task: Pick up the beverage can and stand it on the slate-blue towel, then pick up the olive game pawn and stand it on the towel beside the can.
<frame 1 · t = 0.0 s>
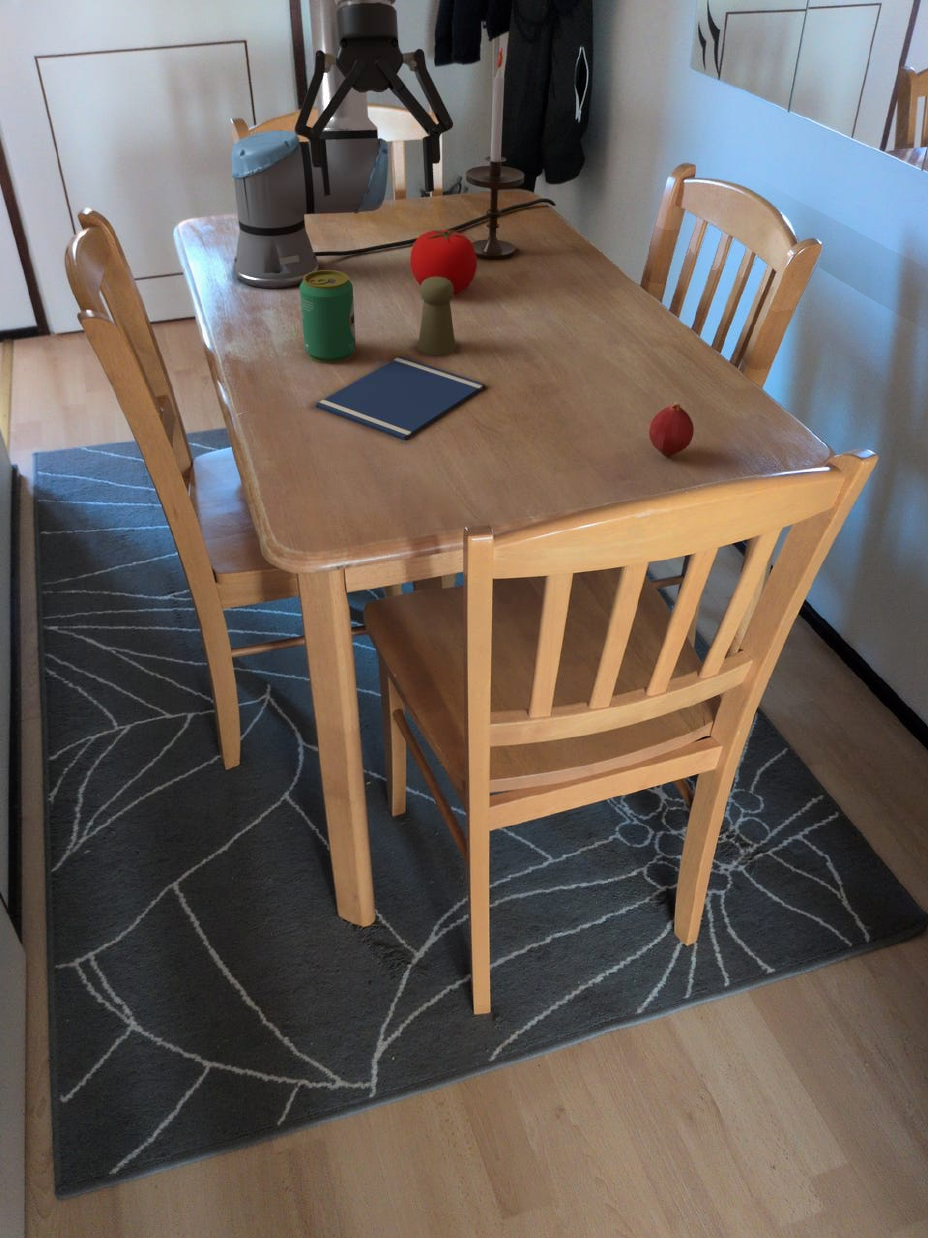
hand: (378, 193, 130), 28 cm above the table, tool tilted 20°, fingers open, 13 cm apart
towel: (402, 396, 146), on the table
tomato: (443, 291, 178), on the table
onion: (666, 456, 135), on the table
olive game pawn: (436, 348, 160), on the table
candlestick: (491, 252, 194), on the table
beverage can: (330, 354, 157), on the table
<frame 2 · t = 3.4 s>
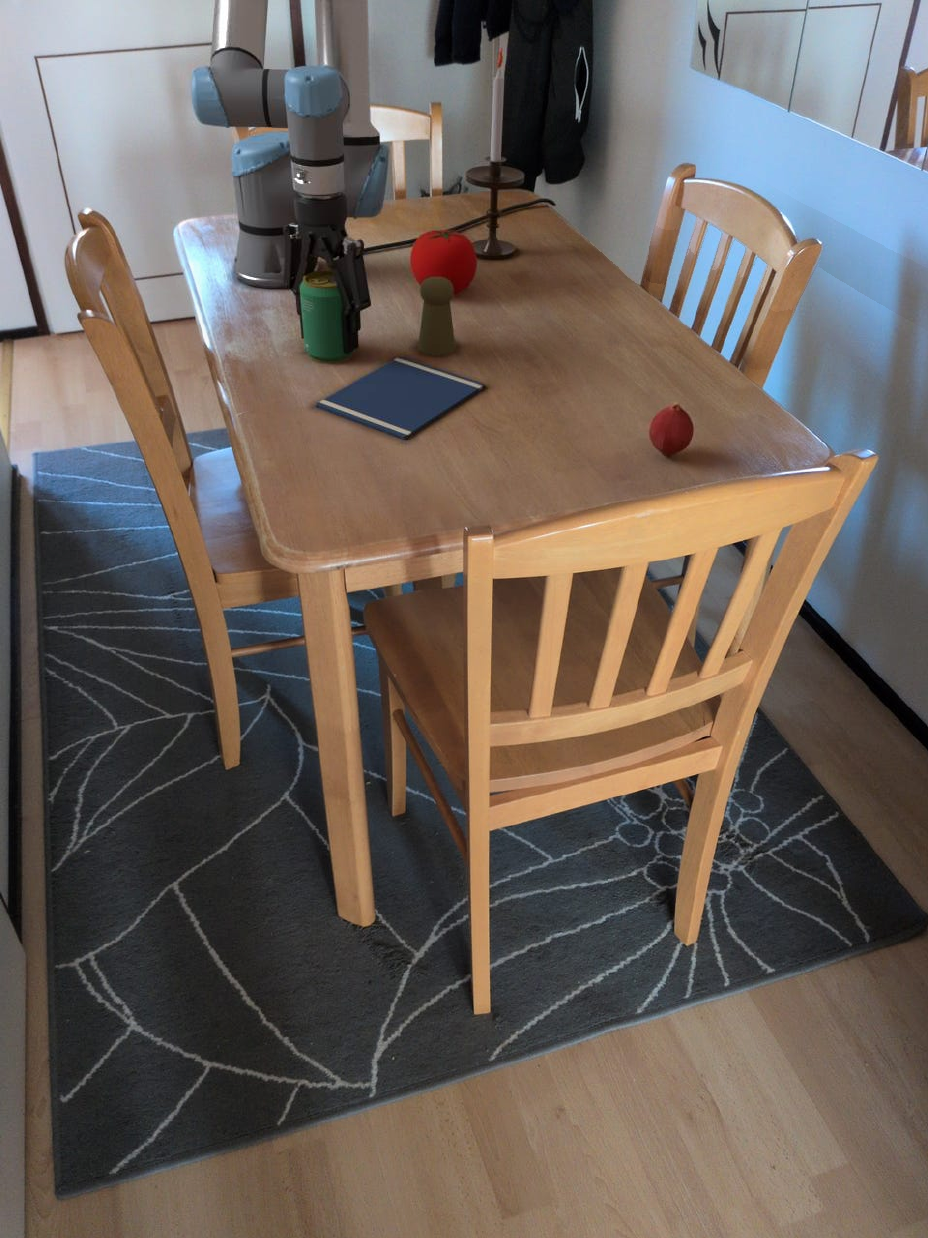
hand: (329, 342, 156), 2 cm above the table, tool pointing down, fingers closed on beverage can, 8 cm apart
beverage can: (330, 354, 157), on the table, touching gripper
everything else where it was.
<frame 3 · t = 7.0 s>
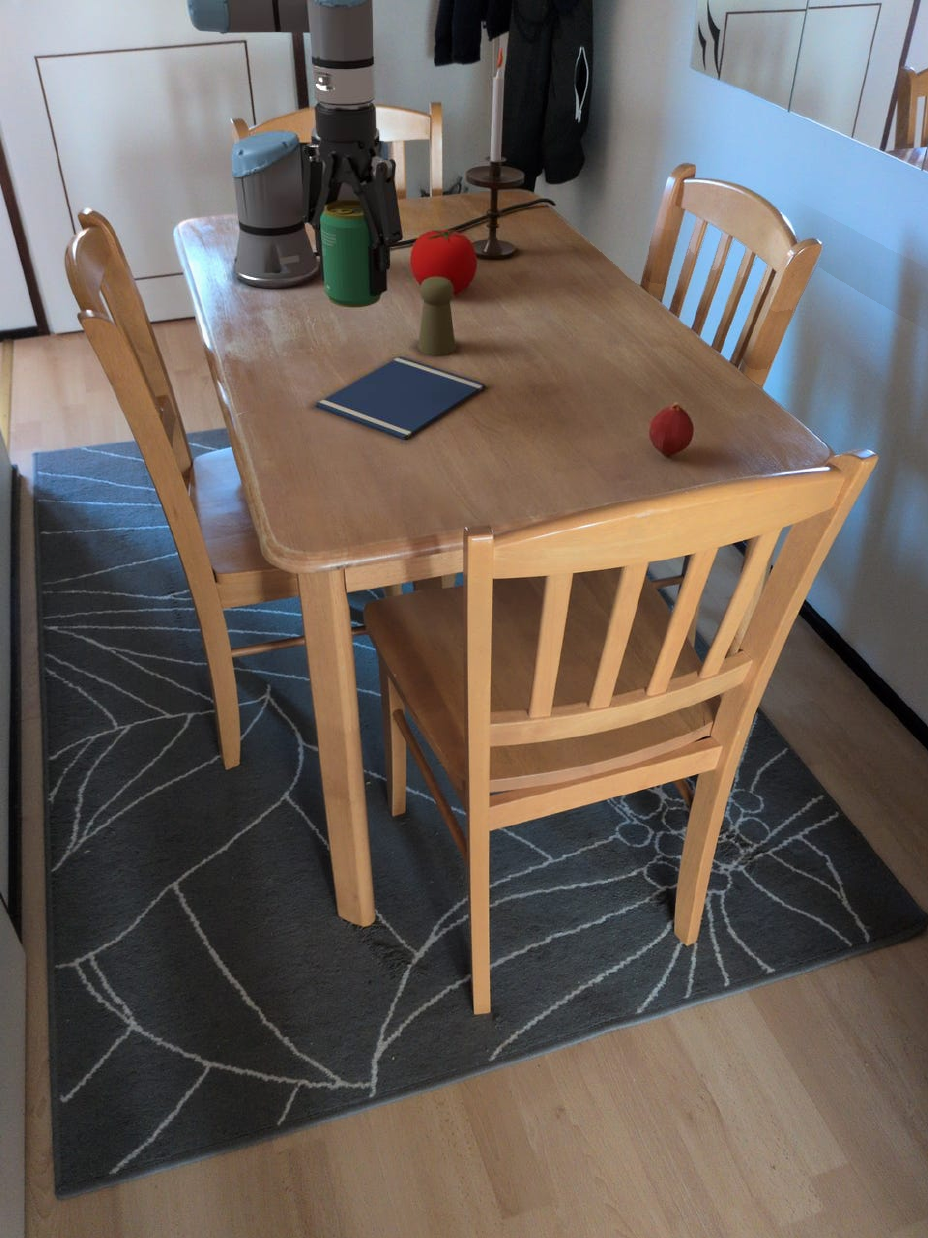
hand: (353, 285, 136), 16 cm above the table, tool pointing down, fingers closed on beverage can, 8 cm apart
beverage can: (354, 298, 138), point 14 cm above the table, touching gripper
everything else where it was.
when the fingers open (2 cm above the table, at t = 10.6 s): beverage can stays where it is, resting on towel.
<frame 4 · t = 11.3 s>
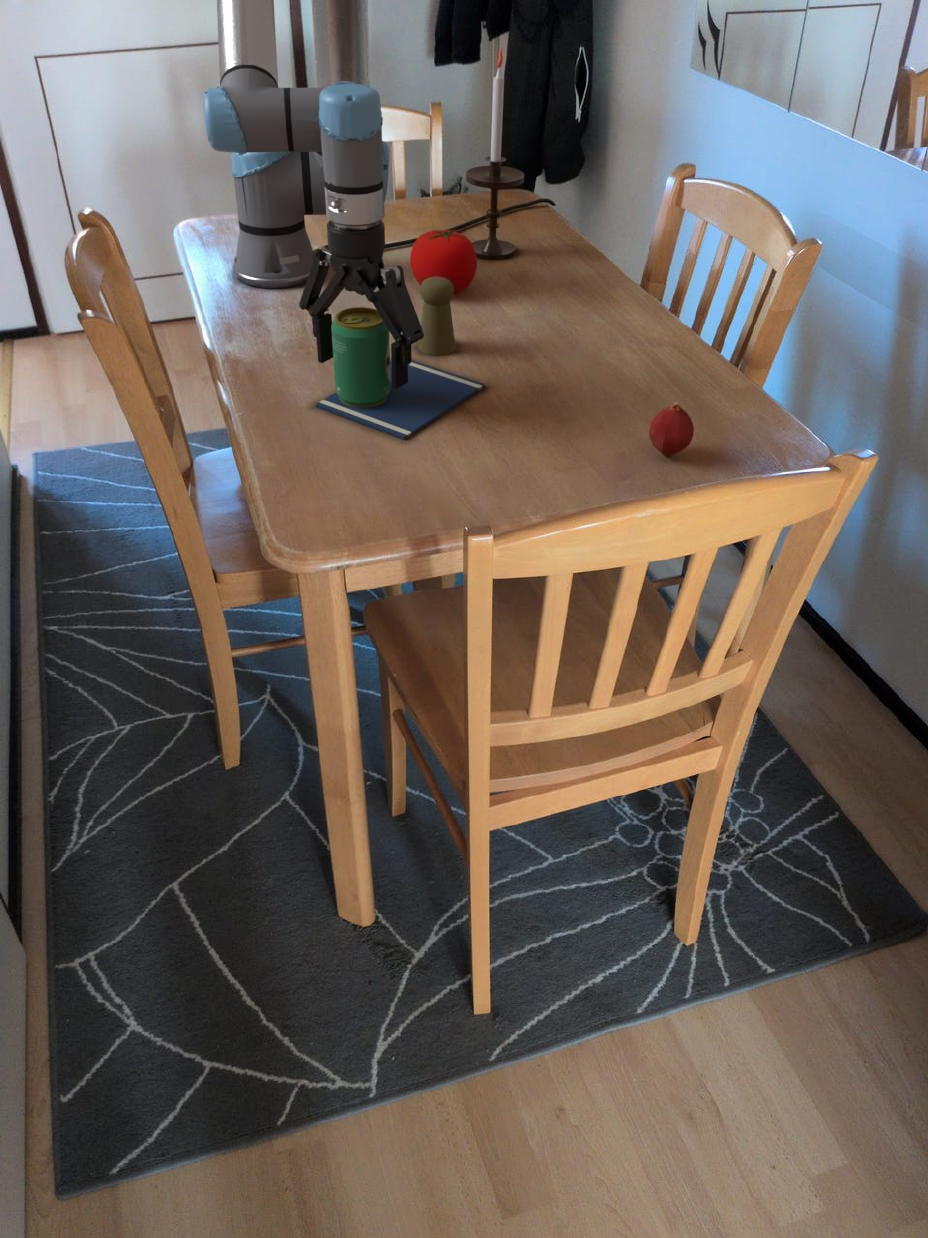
hand: (362, 372, 143), 4 cm above the table, tool pointing down, fingers open, 13 cm apart
beverage can: (363, 397, 145), resting on towel
everything else where it was.
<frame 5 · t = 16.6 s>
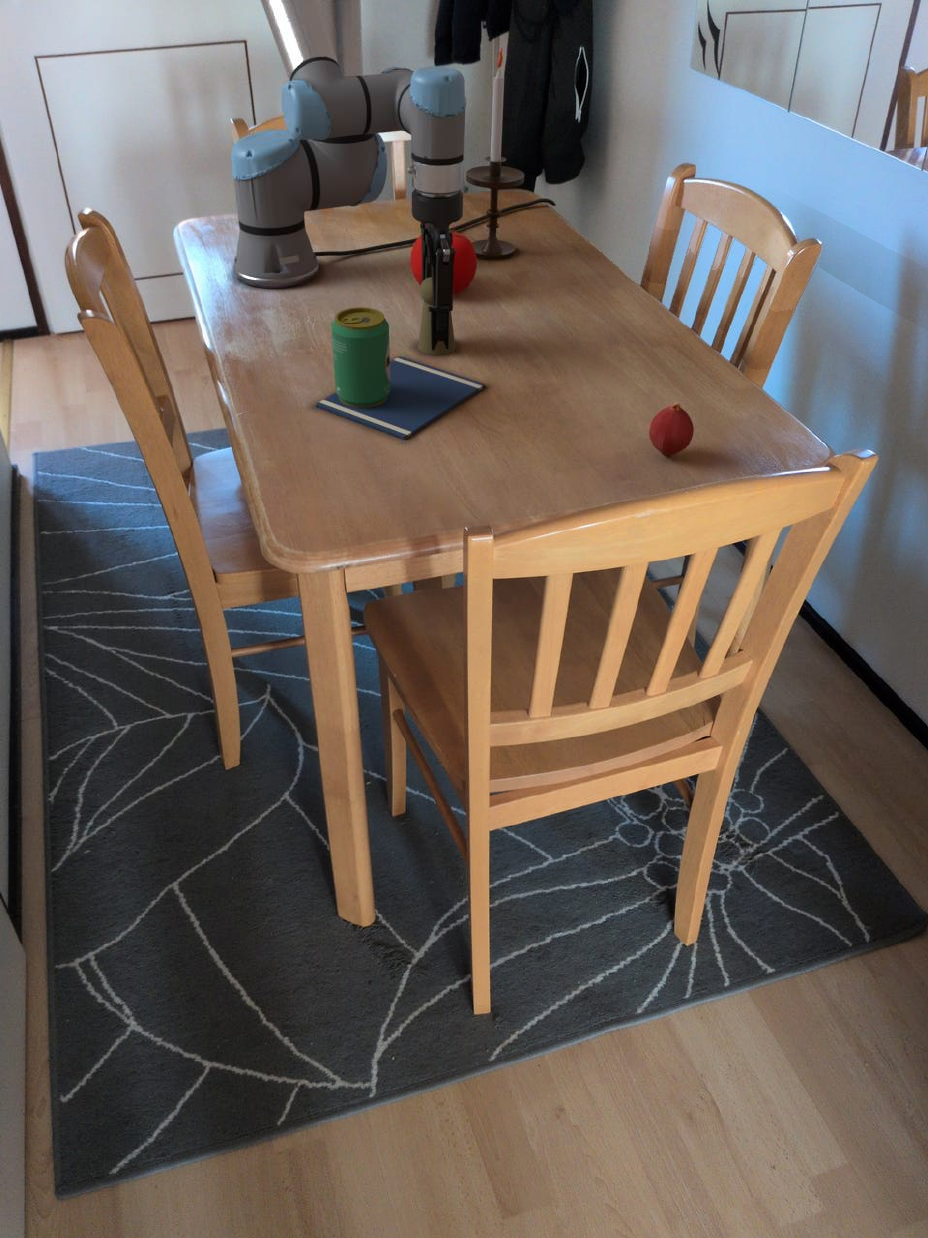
hand: (436, 342, 159), 1 cm above the table, tool pointing down, fingers closed on olive game pawn, 4 cm apart
olive game pawn: (436, 348, 160), on the table, touching gripper
everything else where it was.
when the fingers open (1 cm above the table, at t = 23.3 s): olive game pawn stays where it is, resting on towel.
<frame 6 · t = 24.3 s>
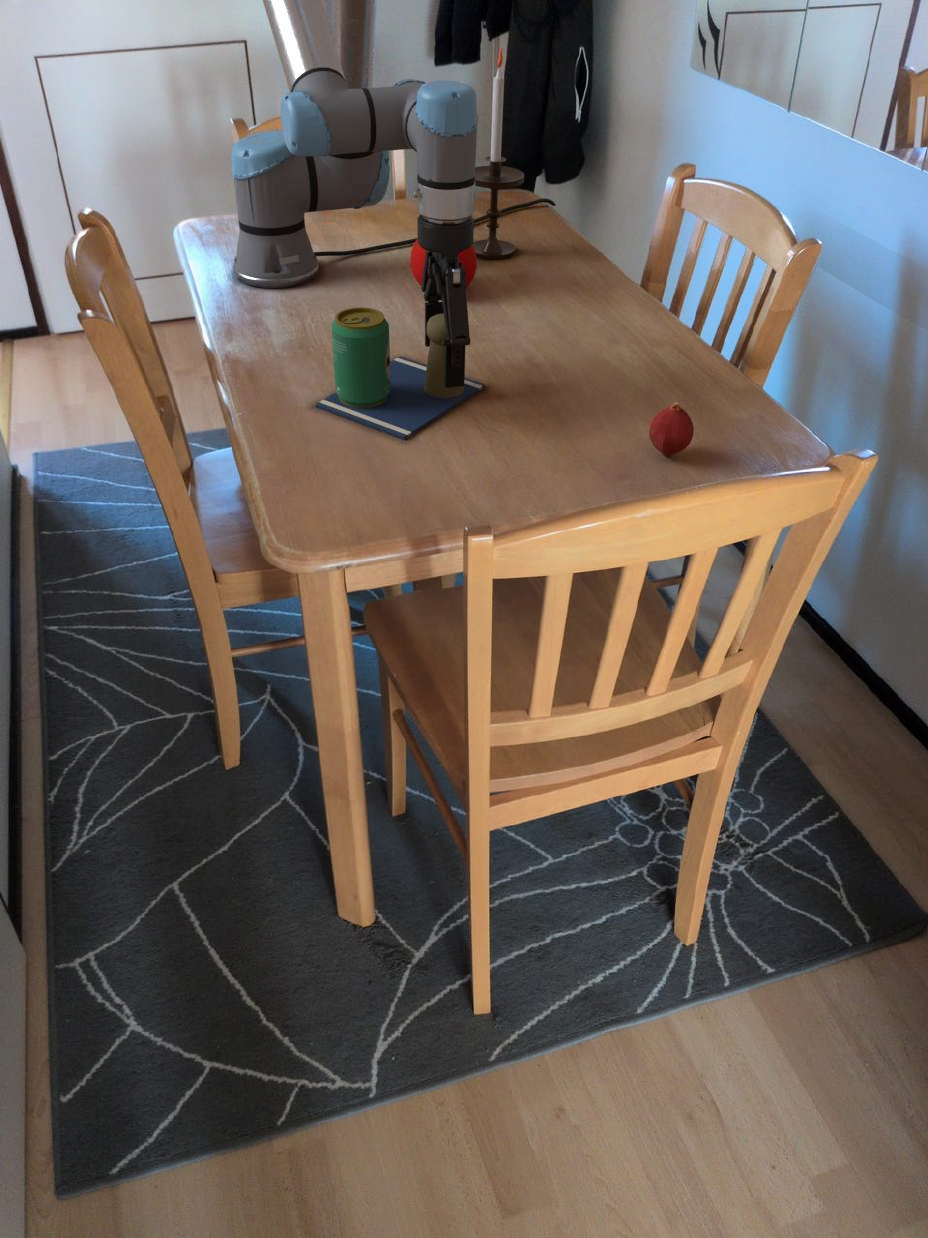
hand: (444, 364, 145), 4 cm above the table, tool pointing down, fingers open, 13 cm apart
olive game pawn: (443, 389, 148), resting on towel
everything else where it was.
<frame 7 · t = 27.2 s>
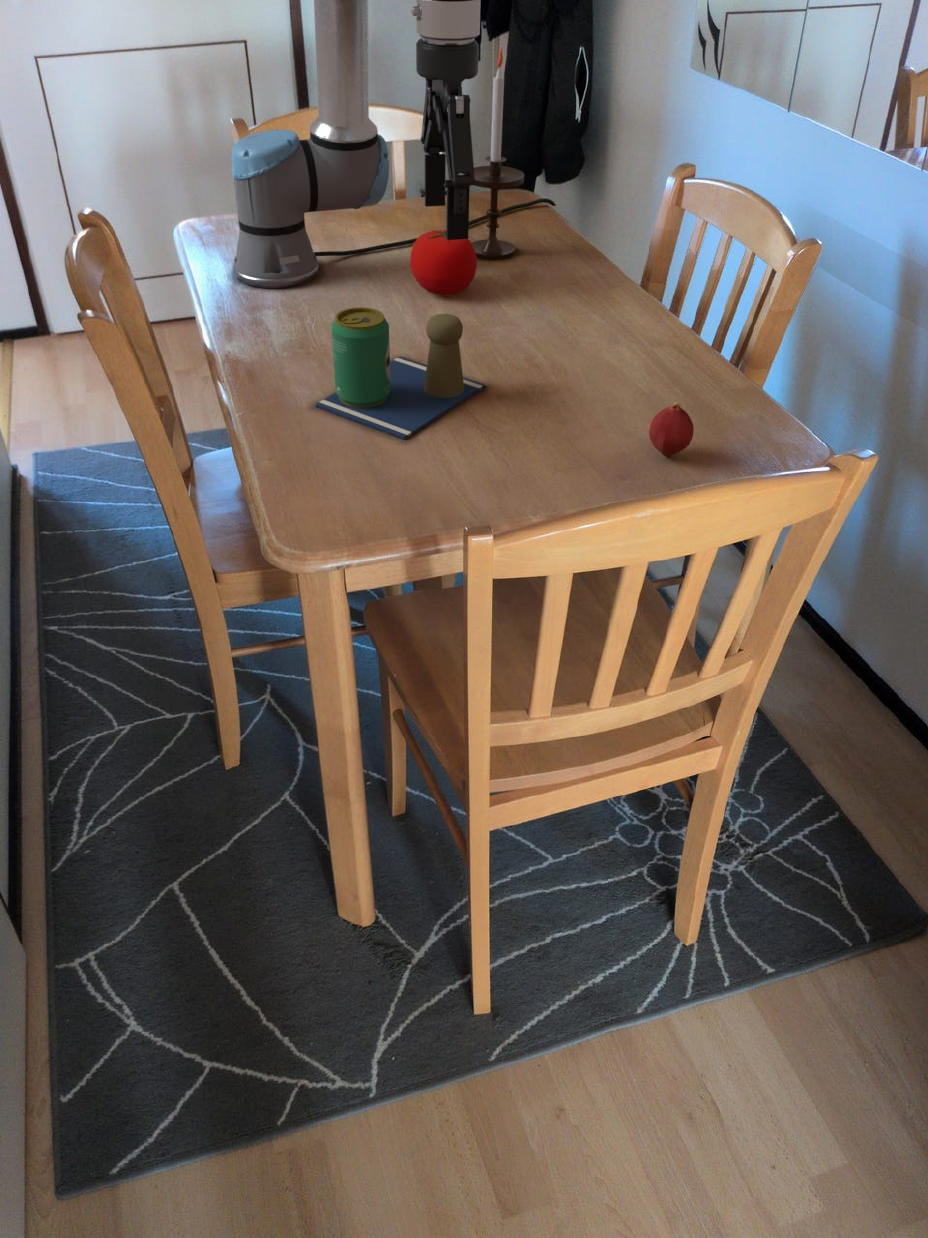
hand: (445, 221, 132), 25 cm above the table, tool pointing down, fingers open, 13 cm apart
nothing on the table moved.
at the end: beverage can inside the target area on the towel (5.7 cm from its centre), point 0.3 cm above the towel's base; olive game pawn inside the target area on the towel (6.4 cm from its centre), point 0.3 cm above the towel's base; olive game pawn tilted 0° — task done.
